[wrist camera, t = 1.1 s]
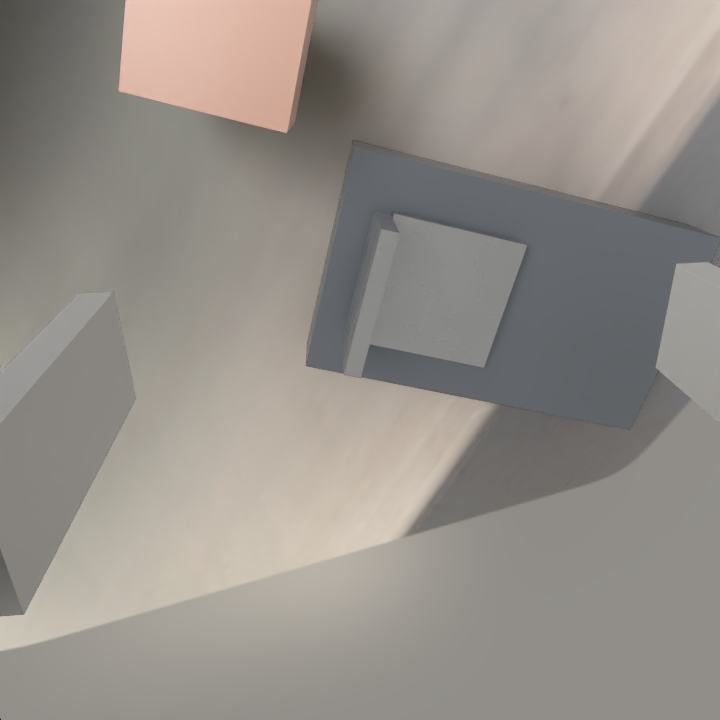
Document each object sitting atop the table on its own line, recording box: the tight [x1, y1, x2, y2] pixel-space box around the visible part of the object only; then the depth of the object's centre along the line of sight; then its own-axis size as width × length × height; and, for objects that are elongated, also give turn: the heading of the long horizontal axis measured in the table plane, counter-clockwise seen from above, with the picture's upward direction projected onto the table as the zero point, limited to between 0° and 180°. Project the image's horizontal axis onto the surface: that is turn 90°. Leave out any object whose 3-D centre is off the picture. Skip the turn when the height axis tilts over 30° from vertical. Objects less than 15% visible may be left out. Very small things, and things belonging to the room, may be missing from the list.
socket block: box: [306, 140, 720, 430], centre depth 35 cm, size 20×12×4 cm, turn 76°
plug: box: [119, 0, 318, 133], centre depth 26 cm, size 6×5×11 cm
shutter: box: [342, 209, 527, 378], centre depth 31 cm, size 8×7×5 cm
